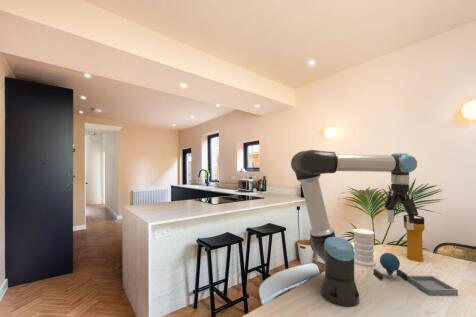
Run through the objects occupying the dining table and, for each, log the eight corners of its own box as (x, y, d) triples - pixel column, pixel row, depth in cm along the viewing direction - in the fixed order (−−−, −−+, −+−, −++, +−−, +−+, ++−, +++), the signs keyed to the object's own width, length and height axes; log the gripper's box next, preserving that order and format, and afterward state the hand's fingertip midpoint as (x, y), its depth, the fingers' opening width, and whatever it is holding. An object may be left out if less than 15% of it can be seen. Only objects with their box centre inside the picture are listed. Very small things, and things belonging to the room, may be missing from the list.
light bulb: (403, 282, 108) (403, 257, 108) (384, 280, 109) (383, 256, 110) (395, 274, 116) (394, 251, 116) (377, 272, 118) (377, 249, 118)
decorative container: (354, 264, 127) (354, 233, 128) (351, 257, 138) (350, 227, 139) (377, 268, 123) (377, 235, 124) (372, 259, 134) (372, 229, 135)
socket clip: (380, 280, 110) (380, 274, 110) (373, 274, 116) (373, 268, 116) (407, 280, 110) (407, 274, 110) (398, 274, 116) (398, 268, 116)
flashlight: (404, 216, 135) (402, 213, 144) (405, 259, 134) (403, 254, 143) (425, 218, 130) (422, 215, 138) (426, 263, 129) (423, 257, 138)
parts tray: (429, 295, 97) (428, 289, 97) (406, 280, 110) (406, 275, 110) (457, 295, 97) (457, 289, 97) (432, 280, 110) (432, 275, 110)
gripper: (428, 186, 101) (428, 233, 100) (390, 182, 126) (390, 220, 125) (411, 185, 101) (411, 232, 100) (377, 181, 126) (377, 219, 125)
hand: (399, 225), depth 113 cm, fingers open, 13 cm apart
